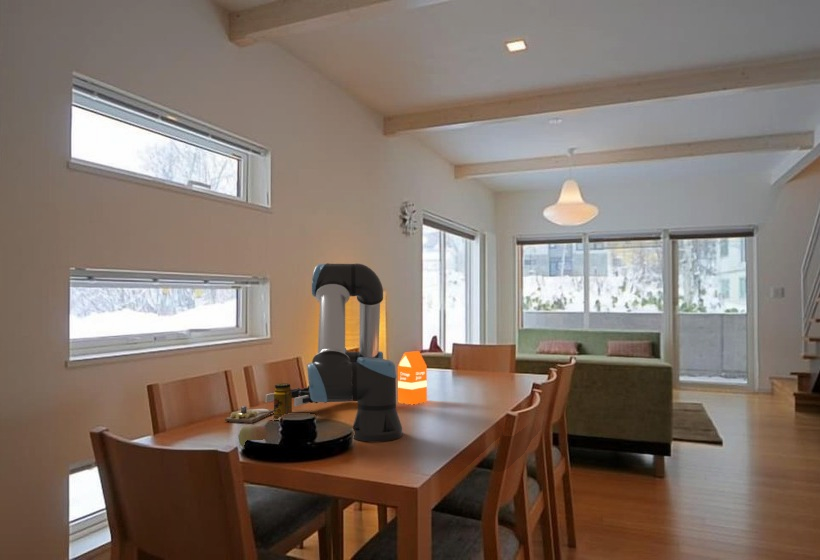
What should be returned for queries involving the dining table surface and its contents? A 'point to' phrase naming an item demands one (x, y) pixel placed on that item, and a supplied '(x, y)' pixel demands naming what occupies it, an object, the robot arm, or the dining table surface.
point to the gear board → (260, 414)
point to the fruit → (252, 433)
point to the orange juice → (412, 379)
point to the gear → (244, 413)
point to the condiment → (282, 400)
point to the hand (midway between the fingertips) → (280, 400)
